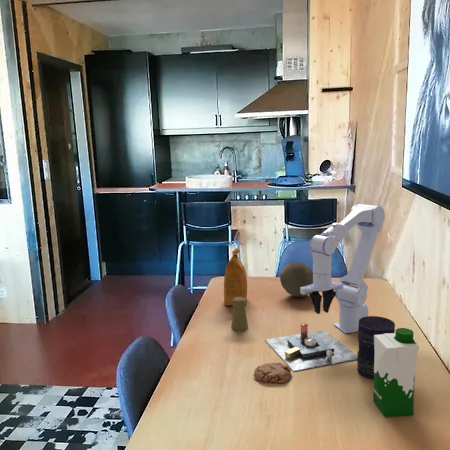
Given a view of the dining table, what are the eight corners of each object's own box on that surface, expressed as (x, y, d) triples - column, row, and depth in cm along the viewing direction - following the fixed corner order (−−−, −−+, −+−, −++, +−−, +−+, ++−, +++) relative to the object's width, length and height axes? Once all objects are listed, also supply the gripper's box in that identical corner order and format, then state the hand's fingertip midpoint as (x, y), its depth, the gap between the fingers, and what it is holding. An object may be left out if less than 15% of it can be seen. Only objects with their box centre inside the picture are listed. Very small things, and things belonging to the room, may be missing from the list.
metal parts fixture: (317, 338, 150) (317, 321, 149) (334, 352, 140) (334, 334, 139) (274, 345, 146) (274, 327, 145) (288, 360, 136) (288, 341, 134)
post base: (323, 330, 157) (324, 321, 156) (360, 359, 136) (360, 348, 136) (265, 340, 151) (264, 331, 150) (293, 371, 130) (293, 361, 130)
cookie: (248, 373, 131) (248, 363, 130) (280, 364, 135) (280, 355, 134) (264, 389, 122) (264, 379, 121) (298, 380, 126) (298, 370, 125)
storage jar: (374, 384, 122) (376, 333, 119) (349, 369, 131) (350, 320, 128) (401, 375, 127) (403, 325, 124) (374, 360, 135) (376, 313, 132)
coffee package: (250, 297, 192) (249, 246, 188) (245, 307, 180) (244, 254, 176) (227, 296, 194) (225, 246, 190) (221, 306, 182) (219, 253, 178)
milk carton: (419, 417, 108) (423, 338, 104) (382, 420, 107) (385, 341, 103) (401, 396, 116) (405, 323, 113) (367, 399, 116) (370, 325, 112)
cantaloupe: (290, 289, 201) (290, 256, 198) (320, 295, 192) (320, 261, 190) (274, 299, 189) (274, 264, 187) (305, 305, 181) (305, 269, 178)
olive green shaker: (246, 331, 158) (246, 301, 156) (229, 330, 160) (229, 300, 157) (249, 324, 164) (248, 295, 162) (232, 323, 165) (232, 295, 163)
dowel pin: (330, 358, 137) (330, 349, 136) (332, 360, 135) (332, 351, 135) (325, 358, 136) (325, 350, 136) (328, 361, 135) (328, 352, 134)
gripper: (335, 266, 151) (334, 305, 153) (296, 271, 147) (296, 311, 149) (347, 272, 144) (346, 312, 147) (306, 277, 140) (305, 318, 143)
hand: (321, 312), depth 148 cm, fingers closed
